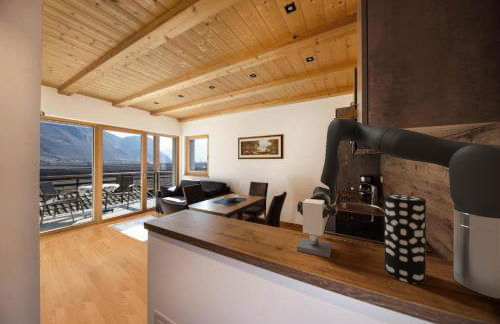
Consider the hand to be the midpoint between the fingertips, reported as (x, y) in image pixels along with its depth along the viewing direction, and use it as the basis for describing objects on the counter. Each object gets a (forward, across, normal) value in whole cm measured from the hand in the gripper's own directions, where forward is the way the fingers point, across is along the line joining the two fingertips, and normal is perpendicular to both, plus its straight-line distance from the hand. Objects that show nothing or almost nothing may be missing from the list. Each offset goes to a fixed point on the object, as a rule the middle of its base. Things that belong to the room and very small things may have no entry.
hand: (312, 213), depth 61 cm
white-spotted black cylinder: (+1, +23, +13) cm, 26 cm away
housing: (-2, 0, +6) cm, 7 cm away
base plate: (-2, 0, +13) cm, 13 cm away
